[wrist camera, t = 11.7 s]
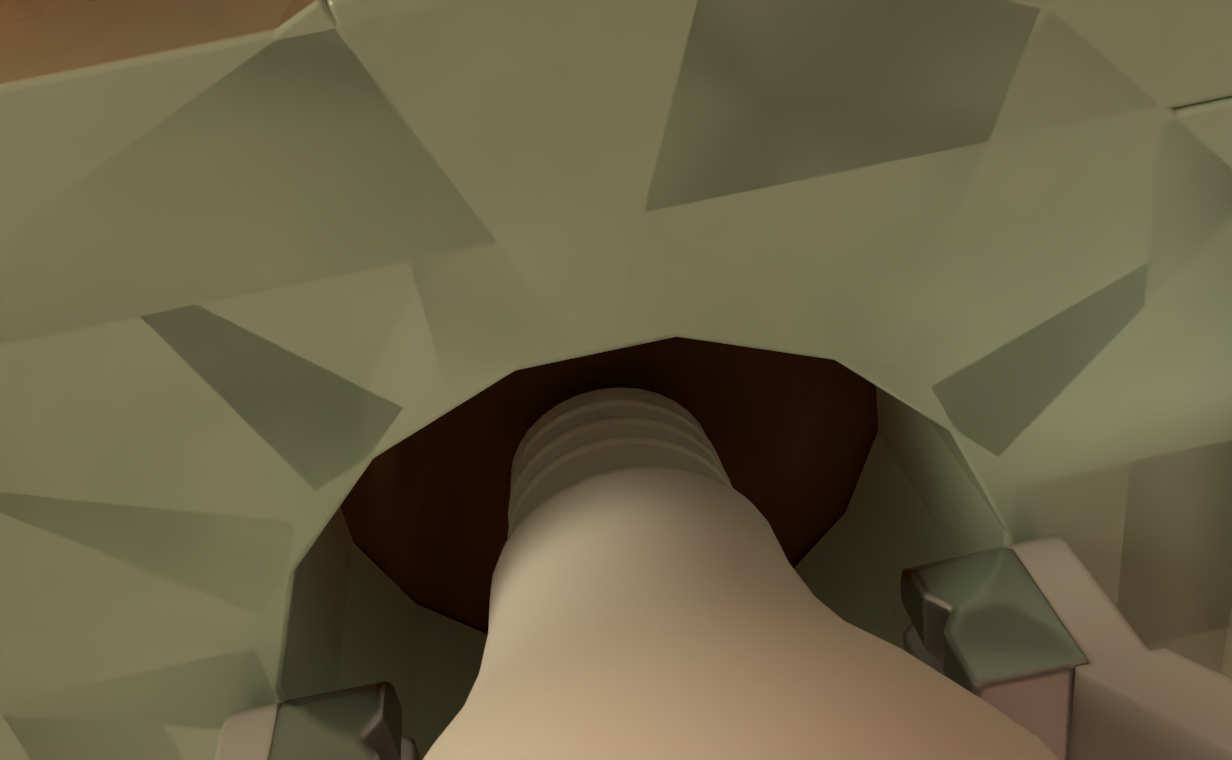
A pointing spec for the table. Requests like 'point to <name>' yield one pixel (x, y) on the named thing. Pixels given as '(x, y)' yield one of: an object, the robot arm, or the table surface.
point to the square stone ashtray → (579, 304)
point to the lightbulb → (681, 620)
